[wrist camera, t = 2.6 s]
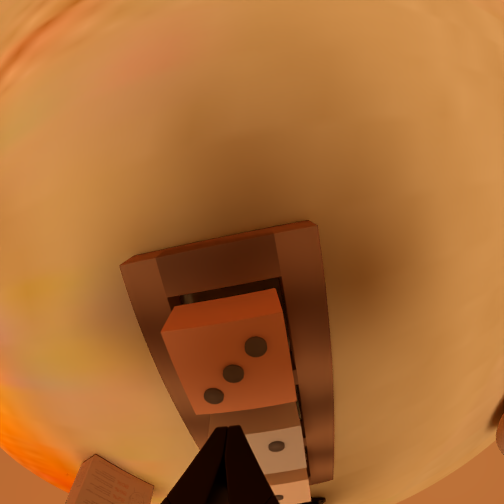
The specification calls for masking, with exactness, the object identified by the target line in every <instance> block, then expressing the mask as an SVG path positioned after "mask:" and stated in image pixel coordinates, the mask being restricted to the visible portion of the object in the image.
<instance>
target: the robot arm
mask: <svg viewBox="0 0 504 504" xmlns="http://www.w3.org/2000/svg"><path fill="white" fill-rule="evenodd" d="M325 501H326V500H325V498H313V499H311V501H309V502H304V503H299V504H323V503H324V502H325ZM161 504H280V503H279V501H278V499H277V498H276V496H275V494H274V492H273V490H272V489H271V487H270V485H269V483H268V481H267V479H266V477H265V475H264V473H263V471H262V469H261V467H260V465H259V463H258V461H257V459H256V457H255V455H254V453H253V451H252V449H251V447H250V445H249V443H248V440H247V438H246V436H245V434H244V432H243V430H242V427H241V426H240V425H232V426H229V427H228V426H221V427H216V428H215V429H214V431H213V432H212V434H211V435H210V437H209V438H208V440H207V441H206V443H205V444H204V445H203V447H202V448H201V450H200V451H199V453H198V454H197V455H196V457H195V458H194V460H193V461H192V463H191V464H190V465H189V467H188V468H187V470H186V471H185V472H184V474H183V475H182V476H181V478H180V479H179V480H178V482H177V483H176V484H175V486H174V487H173V488H172V490H171V491H170V492H169V494H168V495H167V497H166V498H165V499H164V500H163V501H162V503H161Z"/></svg>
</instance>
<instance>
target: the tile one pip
mask: <svg viewBox="0 0 504 504" xmlns="http://www.w3.org/2000/svg"><path fill="white" fill-rule="evenodd" d="M264 475H265V477H266V479H267V481H268V483H269V485H270V487H271V489H272V490H273V492H274V494H275V496H276V498H277V499H278V501H279V503H280V504H299V503H304V502H309V501H311V496H310V488H309V480H308V475H307V470H306V468H301V469H296V470H290V471H285V472H278V473H271V474H264Z"/></svg>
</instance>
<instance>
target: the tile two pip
mask: <svg viewBox="0 0 504 504" xmlns="http://www.w3.org/2000/svg"><path fill="white" fill-rule="evenodd" d="M232 425H240V426H241V427H242V430H243V432H244V434H245V436H246V438H247V440H248V443H249V445H250V447H251V449H252V451H253V453H254V455H255V457H256V459H257V461H258V463H259V465H260V467H261V469H262V471H263V473H264V474H271V473H278V472H285V471H290V470H296V469H301V468H306V467H307V465H306V458H305V451H304V444H303V436H302V430H301V424H300V419H299V415H298V411H297V406H296V402H290V403H285V404H280V405H274V406H268V407H262V408H256V409H249V410H241V411H233V412H224V413H214V414H211V415H210V423H209V432H208V438H209V437H210V435H211V434H212V432H213V431H214V429H215V428H216V427H221V426H228V427H229V426H232Z"/></svg>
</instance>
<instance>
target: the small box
mask: <svg viewBox="0 0 504 504" xmlns="http://www.w3.org/2000/svg"><path fill="white" fill-rule="evenodd" d="M153 489H154V486H153V485H150V484H148V483H146V482H144V481H142V480H140V479H138V478H136V477H134V476H132V475H130V474H129V473H127V472H125V471H123V470H121V469H119V468H118V467H116V466H114V465H113V464H111V463H109V462H107V461H106V460H104V459H103V458H101V457H99V456H98V455H96V454H95V455H94V456H93V457H91V458H90V459H88V460H87V461H85V462H84V463H82V465H81V467H80V469H79V472H78V474H77V476H76V478H75V481H74V483H73V485H72V488H71V490H70V493H69V495H68V498H67V500H66V503H65V504H150V502H151V498H152V493H153Z"/></svg>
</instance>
